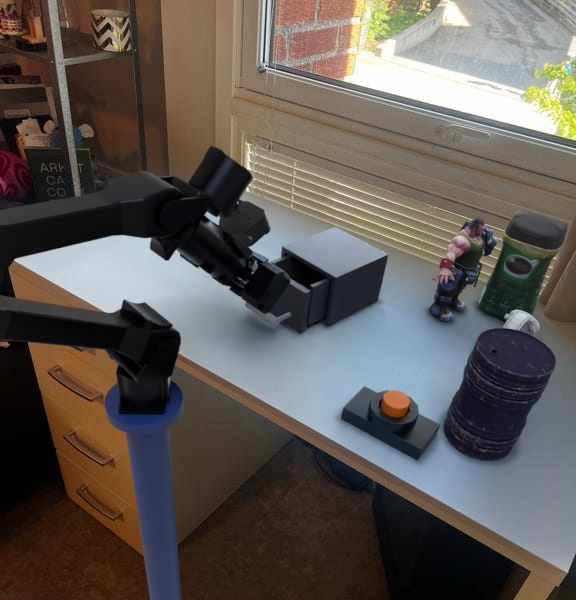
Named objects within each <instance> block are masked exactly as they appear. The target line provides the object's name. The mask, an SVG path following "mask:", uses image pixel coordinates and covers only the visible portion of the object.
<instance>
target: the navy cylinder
mask: <svg viewBox="0 0 576 600" xmlns="http://www.w3.org/2000/svg"><path fill="white" fill-rule="evenodd" d="M466 361H467V362H466V364H465V366H464V369H463V374H462V375H463V378H462V381H461V384H460V386H459V387H458V389H457V391H456V392H455V393H454V395H453V397H452V400H451V402H450V404H449V407H448V410H447V414H446V417H445V419H444V422H443V427H442V429H443V434H444V436H445V438H446V440H447V441H448V443H450V445H451V446H452V447H453V448H454V449H455V450H457V451H458V452H459V453H461V454H463V455H465V456H467V457H469V458H471V459H474V460H477V461H478V460H479V461H482V462H497V461H500V460H503V459H505V458H506V457H508V456H509V455H510V454H511V452H512V451H513V448H514V446H515V444H516V443H517V442H518V440H519V439H520V437H521V436H522V433H523V430H524V429H525V427H526V425H527V421H528V416H529V415H530V412H531V410H532V408H533V406H534V405H535V404H537V402H539V400H540V399H541V397H542V395H543V393H544V391H546V387H547V386H548V385H549V381H550V378H551V376H552V374H553V373H554V371H555V369H556V366H557V357H556V355H555V353H554V352H553V350H552V349H551V348H550V347H549V346H548V345H547V344H546V343H545V342H543V341H542V340H540V339H539V338H537V337H535V335H533V336H532V335H529V334H527V333H524V332H522V331H518V330H514V329H509V328H503V327H493V328H488V329H485V330H484V331H481V332H480V333H479V334H478V335H477V338H476V340H475V343H474V345H473V348H472V350H471V351H470V353H469V355H468V358H467V360H466Z"/></svg>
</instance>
